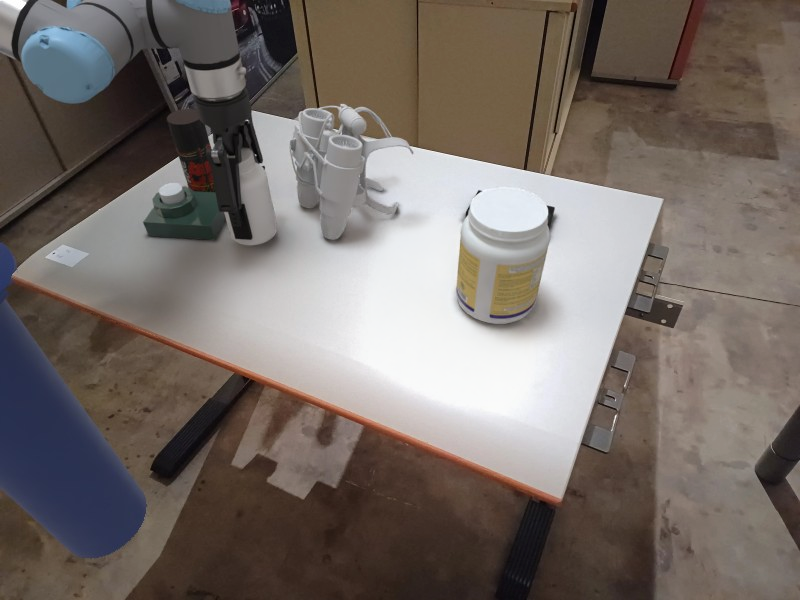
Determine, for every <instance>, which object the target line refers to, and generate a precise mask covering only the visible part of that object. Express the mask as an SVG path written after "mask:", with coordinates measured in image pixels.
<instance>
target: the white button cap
mask: <svg viewBox="0 0 800 600" xmlns="http://www.w3.org/2000/svg"><path fill="white" fill-rule="evenodd" d="M182 186H183V185H182V184H181V183H179V182H170V183H169V182H168V183H166V184H164V185H162V186H160V187H159V189H158V192H159V195H160V197H161V200H162V202H163V203H164V204H167V205H173V204H177V203H180V202H182V201H183V200H185V198H186V196H185V193H184V190H183V187H182Z"/></svg>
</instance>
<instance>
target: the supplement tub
mask: <svg viewBox="0 0 800 600" xmlns="http://www.w3.org/2000/svg"><path fill="white" fill-rule="evenodd" d="M481 191H482V192H480V193H479V194H477V195H476V194H475V195H476V196H475V195H474V197H473V198H472V200H471V201H470V203H469V206H470V209H469V212H468V216H467V217H466V218H465V217H464V220H463V221H462V225H461V228H460V232H459V233H460V234H459V235H460V237H459V239H460V240H459V250H458V264H457V266H458V267H457V277H456V287H455V294H456V297H457V298H456V299H457V301H458V303H459V305H460V307H461V309H462V310H463V311H464V312H465V313H466V314H467V315H468V316H471V318H474V319H476V320H478V321H481V322H484V323H488V324H492V325H493V324H495V325H505V324H512V323H515V322H518V321H520V320H522V319H524V318H525V317H526V316H528V315H529V314H530V313H531V312H532V310H533V309H534V307H535V305H536V303H537V300H538V295H539V294H538V293H539V290H540V286H541V285H540V284H541V281H542V276H543V272H544V267H545V263H546V260H547V259H546V258H547V254H548V250H549V246H550V242H551V231H550V227H549V228H548V225H547V224H548V208H547V206H546V205H547V204H546V202H545V201H544V200H543V198H541V197H540V196H539V195H537V194H535V193H533V192H531V191H528V190H527V189H523V188H519V187H515V186H496V187H490V188H487V189H484V190H481Z"/></svg>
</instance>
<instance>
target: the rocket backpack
mask: <svg viewBox="0 0 800 600" xmlns="http://www.w3.org/2000/svg"><path fill="white" fill-rule="evenodd" d="M326 109H337V111H338V120H339V122H340V123H341V124H340V126H339V127H338V128H339V129H337V131H336V130H334V129H335V115H334V113H332V112H330V111H328V110H326ZM360 112H365V113H367V114H369V115H370V116H371V118H372V119H373V120H374V121H375V123H377V125H379V126H380V127H381V129H382V131H383V133H384V135H385V137H384V138H379V139H375V140H371V141H367V140H365V139H364V138H363V137H362V136H361V135H363V134H364V133H365V132H366V130H367V128H368V127H367V126H368V125H367V121H366V120H365V118H364V117H362V116H361V115H360V114H359V113H360ZM393 147H402V148H406V149H408V150H409V151H410V154H411V155H415V154H414V151H413V149H412V147H411V145H410V144H409V142H408V141H407V140H406V139H404V138H401V137H396V136H395V137H394V136H393V135H391V132H390V131H389V129H388V128H387V126H386V125H385V123H384V122H383V120H382V119H381V118H380V117H379V116H378V115H377V114H376V113H375V112H374V111H373V110H371V109H370V108H367V107H365V106H358V107H356V108H353V107H351V106H348V105H347V104H346V103H340V105H339V106H338V105H325V106H322V107H318V108H317V107H309V108H305V109H304V110H300V111H299V112H298V124H294V130H293V136H292V139H290V140H289V154H290V160H291V165H292V168H293V172H294V173H295V179H296V181H297V183H296V184H297V185H296V191H297V192H296V193H297V198H298V199H297V200H298V201H299V205H300V206H302V207H303V208H305V209H312V208H315V207H316V206H317V205H318V203H319V211H320V216H319V219H320V220H319V221H320V229H321V232H322V235H323V237H325V238H326V239H328V240H338V239H339V238H340V237H341V236H342V234H343V233H344V231H345V229H346V227H347V224H348V221H349V216H351V214H352V210H353V208H357V207H361V206H364V204H365V205H366V206H367V207H369V208H371V209H372V210H374V211H376V212H378V213H381V214H385V215H393V214H395V213H396V211H397V208H398V207H399V202H398V201H395V203H394V206H391V205H390V206H389V205H385V204H383V203H381V202H378V201H376V200H375V199H373V198H372V197H371V196H370V195H369V194H368V189H367V188H368V187H370V188H372V189H374V190H376V191H377V192H382V191H384V187H383V185H382V184H381V183H379V182H378V181H376V180H374V179H371V178H369V177H367V176H366V175H367V174H366V173H367V172H366V171H367V162H368V158H369V156H370V155H371V154H372V153H373V152H375V151H378V150H381V149H386V148H393ZM367 186H368V187H367Z"/></svg>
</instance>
